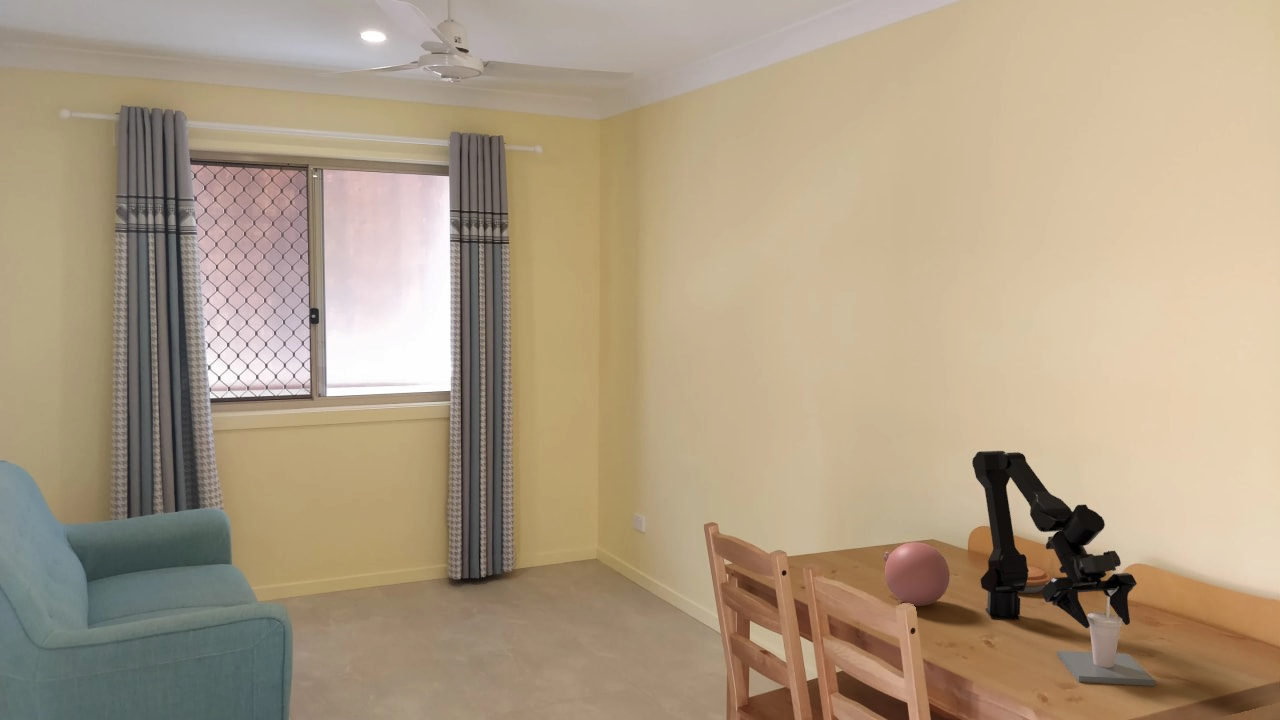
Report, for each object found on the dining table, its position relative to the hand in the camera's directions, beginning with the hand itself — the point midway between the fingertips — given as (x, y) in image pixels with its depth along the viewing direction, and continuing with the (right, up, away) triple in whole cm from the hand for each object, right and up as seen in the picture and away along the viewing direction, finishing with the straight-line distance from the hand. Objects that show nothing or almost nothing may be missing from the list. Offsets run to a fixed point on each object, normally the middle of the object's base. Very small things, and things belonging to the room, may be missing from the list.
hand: (1108, 625), depth 188 cm
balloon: (-26, -7, +46) cm, 54 cm away
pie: (+6, -7, +59) cm, 60 cm away
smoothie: (0, -8, +2) cm, 9 cm away
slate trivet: (0, -9, +1) cm, 10 cm away
